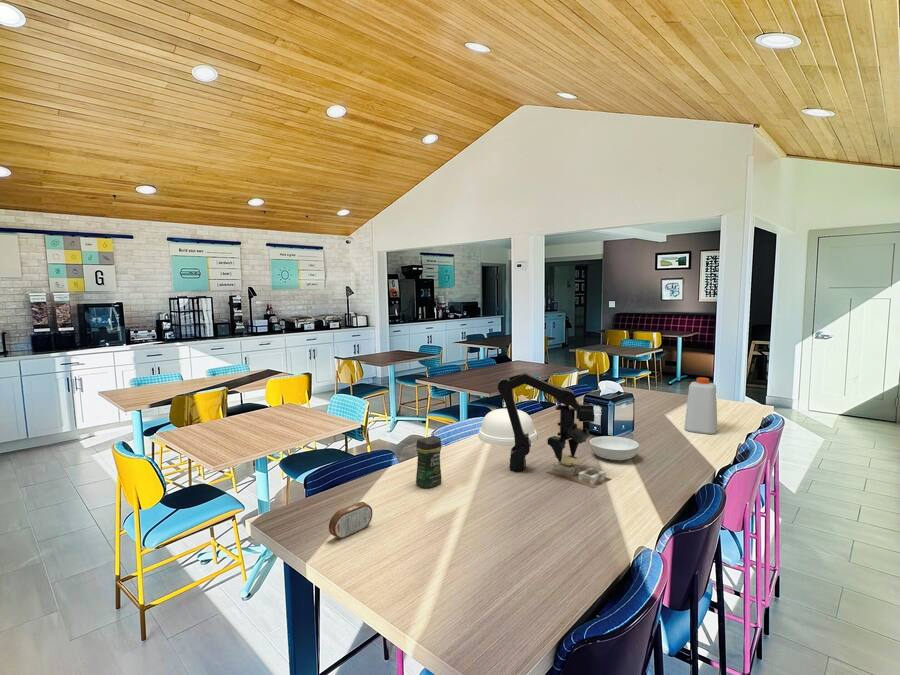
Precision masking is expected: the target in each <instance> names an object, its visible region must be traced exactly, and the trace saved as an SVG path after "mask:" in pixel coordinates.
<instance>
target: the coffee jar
mask: <svg viewBox="0 0 900 675" xmlns="http://www.w3.org/2000/svg"><path fill="white" fill-rule="evenodd" d="M415 448H416V451H417V452H416V454H417V462H416V463H417V464H416V465H417V466H416V476H415V477H416V479H415V483H416V485H417V486H418V487H419V488H426V489H428V488H429V489H430V488H432V487H436V486H439V485H441V483H442V470H441V450H442V439H441V437H439V436H436V435H431V436H426V437H422V438H418V439H417V440H416V446H415Z"/></svg>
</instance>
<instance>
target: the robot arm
mask: <svg viewBox="0 0 900 675" xmlns="http://www.w3.org/2000/svg"><path fill="white" fill-rule="evenodd" d="M523 385H527V386H529V387H531V388H533V389H536V390H538V391H541V392H543V393H545V394H546V395H550V396H551V397H553V398H555V400H557V401H558V402H559V403H558V404H557V405H555V411H559V421H558V422H557V427H558V426H559V431H558V432H557V436H556V435H553V436H550V437H548V438H547V441H546V442H547V445H548V446H550V447H551V448H552V450H553V453H554V456H555V455H556V457H557V458H556V459H557V460H558V462H561V460H562V453H563V450H564V448H566V442H567V441H568V445H569V450H570V452H569V453H570V455H571V456H575V455H576V453H577V449H578V446H579V444H581V445H582V444H583V443H586V441H587V439H588V438H589V437H590V430H589V428H587V427H584V428H578V424H577V423H576V422H575V419H577V420H578V421H579V422H581V423H582V422H584V423H585V422H587V423H594V422H595V409H594V408H595V407H594V404H580V403H579V401H578V400H577V398H576V395H575V392H574V391H573V390H572V389H570V388H566V387H562V386H557V385H554V384H552V383H549V382H547V381H544V380H543V379H540V378H538V377H535V376H533V375H530V374H529V373H528V372H522V373H520V374H516V375H513V376H510V377H502V378H500V379H499V381H498V383H497V389H498V392H499V394H500V396H501V398H502V400H503V401H504V403H505V406H506V407H505V408H507V411H508V414H509V418H510V421H511V425H512V428H513V432H514V438H515V446H512V447H511V448H510V454H509V455H510V457H509V471H510V472H514V473H522V472H525V470H526V468H527V462H526V460H527V459H526V457H527V455H528V454H530V451H531V447H532V443H531V441H530V439H529V434H528V433H527V434H525V433H524V431H523V429H522V425H521V422H520V418H519V415H518V411H517V410H518V408H517V404H516V401H515V397H514V389H516V388H518V387H520V386H523ZM562 404H563V405H562Z"/></svg>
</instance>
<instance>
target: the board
mask: <svg viewBox="0 0 900 675" xmlns="http://www.w3.org/2000/svg"><path fill="white" fill-rule="evenodd" d="M545 473H546V474H549V475H552V476H554V477H557V478H562V479H565V480H568V481H569V482H574V483H577V484H580V485H582V486H585V487H589V488H592V489H597V488H598V487H600V486H603V485H604V484H606V483H608V482H610V481H611V480H613V479H612V478H611V477H610V478H609V477H607V476H606V471H603V470H600V469H596V468H593V467H588V468H586V469H581V465H580V464H575V463H572V467H570V468H569V467H566V466H563V465H561V462H560V461H558V462H555V463H553V464H552V469H550V470H548V471H546V472H545Z"/></svg>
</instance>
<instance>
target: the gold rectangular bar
mask: <svg viewBox="0 0 900 675" xmlns="http://www.w3.org/2000/svg"><path fill="white" fill-rule="evenodd" d="M554 458H555V459H557V457H556V455H555V454H554ZM572 463H573V464H576V465H578V464H579V463H580V457H578V456H575V455H574V456H572V455H571V454H568V453H563V452H562V460H561V465H563V466H566V467H569V468H570V467H572Z"/></svg>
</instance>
